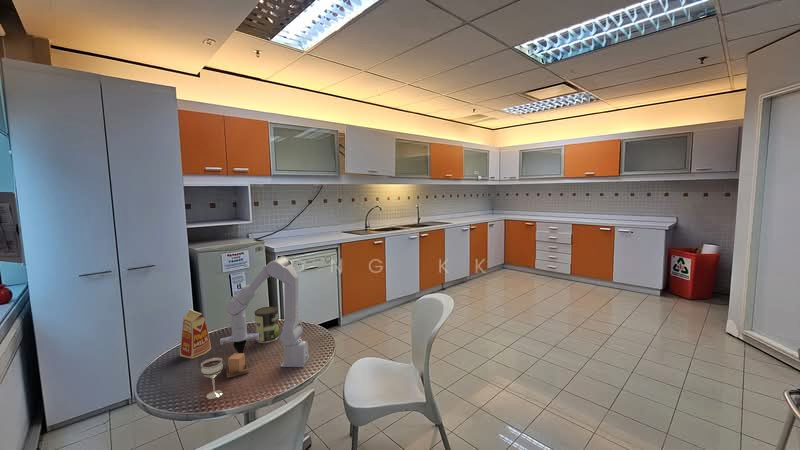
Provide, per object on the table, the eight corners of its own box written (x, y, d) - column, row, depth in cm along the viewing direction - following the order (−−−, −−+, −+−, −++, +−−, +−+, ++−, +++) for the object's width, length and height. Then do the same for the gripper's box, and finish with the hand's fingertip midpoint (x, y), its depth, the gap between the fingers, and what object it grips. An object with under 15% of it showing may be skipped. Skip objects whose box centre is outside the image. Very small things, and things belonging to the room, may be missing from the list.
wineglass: (228, 387, 122) (225, 356, 121) (220, 399, 116) (218, 366, 114) (208, 389, 122) (205, 358, 120) (199, 401, 115) (196, 368, 113)
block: (245, 368, 135) (244, 353, 135) (240, 374, 131) (239, 359, 130) (234, 368, 135) (233, 353, 135) (229, 374, 131) (227, 359, 130)
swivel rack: (246, 355, 145) (245, 349, 145) (248, 372, 132) (247, 366, 131) (226, 360, 142) (226, 353, 141) (227, 378, 128) (226, 371, 128)
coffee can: (282, 333, 167) (280, 306, 165) (274, 343, 157) (272, 314, 155) (261, 333, 167) (260, 306, 165) (252, 343, 157) (250, 314, 155)
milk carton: (179, 355, 146) (175, 311, 144) (199, 346, 155) (195, 304, 152) (194, 359, 143) (190, 314, 140) (213, 349, 151) (209, 307, 149)
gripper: (258, 320, 146) (260, 350, 147) (221, 325, 142) (224, 355, 143) (256, 327, 139) (259, 358, 141) (217, 332, 135) (220, 364, 136)
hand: (241, 357), depth 141 cm, fingers closed
